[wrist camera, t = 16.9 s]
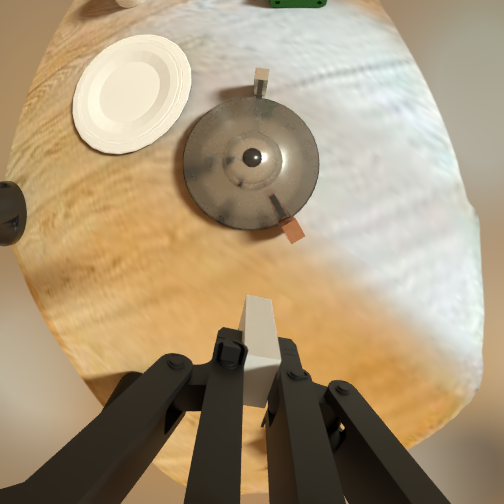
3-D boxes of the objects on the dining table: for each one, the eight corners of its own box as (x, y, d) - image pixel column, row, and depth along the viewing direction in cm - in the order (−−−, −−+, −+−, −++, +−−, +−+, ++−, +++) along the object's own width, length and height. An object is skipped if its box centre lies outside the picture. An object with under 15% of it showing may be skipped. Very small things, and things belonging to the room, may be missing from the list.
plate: (87, 49, 42) (83, 46, 41) (200, 32, 43) (198, 28, 41) (70, 159, 48) (65, 158, 46) (187, 153, 48) (185, 151, 46)
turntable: (162, 142, 46) (152, 138, 40) (274, 78, 43) (276, 66, 38) (237, 266, 51) (235, 275, 45) (347, 202, 48) (358, 204, 43)
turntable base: (162, 125, 47) (147, 115, 39) (281, 75, 45) (286, 57, 37) (216, 249, 52) (210, 260, 44) (336, 199, 50) (351, 201, 42)
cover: (216, 184, 46) (212, 183, 41) (229, 127, 44) (226, 119, 39) (275, 195, 47) (278, 197, 41) (287, 139, 45) (292, 133, 39)
